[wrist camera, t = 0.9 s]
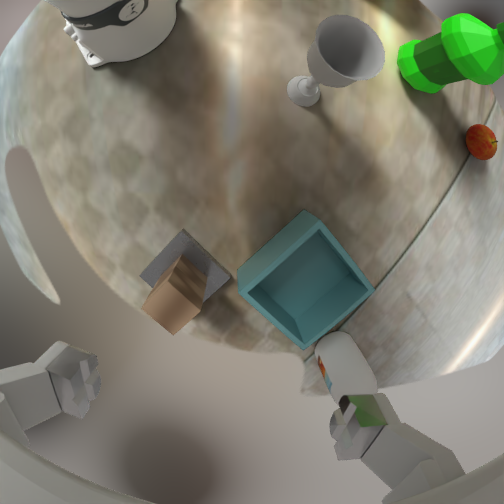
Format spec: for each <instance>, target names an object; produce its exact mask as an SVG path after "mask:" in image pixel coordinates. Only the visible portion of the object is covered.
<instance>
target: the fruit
mask: <svg viewBox="0 0 504 504" xmlns="http://www.w3.org/2000/svg"><path fill="white" fill-rule="evenodd" d="M497 142H498V141H496V137H495V135H494V133H493V132H492V130H491V129H489V128H488V127H487V126H485V125H481V124H476V125H473V126H471V127H470V128H469V129H468V131H467V133H466V145H467V148H468V150H469V151H470V153H471V154H472V155H473V156H474V157H476V158H477V159H480V160H488V159H490V158H492V157H493V156H494V155H495V153H496V150H497Z"/></svg>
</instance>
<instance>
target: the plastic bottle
mask: <svg viewBox="0 0 504 504" xmlns="http://www.w3.org/2000/svg"><path fill="white" fill-rule="evenodd" d="M397 64H398V67H399V69H400V72H401V74H402V76H403V78H404V79H405V80H406V81H407V82H408V83H409V84H410V85H411V86H412V87H413V88H414V89H417V90H420V91H424V92H427V93H430V94H433V93H436V92H438V91H439V90H441V89H442V88H443V87H445V86H446V84H449V83H453V82H457V81H462V80H466V79H470V80H472V81H474V82H476V83H478V84H482V85H489V84H493V83H494V82H495V81H496V80H498V79H499V78H500V77H501V76H502V75H503V74H504V22H503V23H499V24H497V29H494V30H493V29H492V28H490V27H489V26H487V25H486V24H484V23H483V22H482V21H480V20H478V19H477V18H475V17H473V16H471V15H470V14H464V13H460V14H457V15H455V16H452V17H450V18H448V19H446V20H445V21H444V22H443V23H442V31H441V32H440V33H438V34H436V35H434V36H432V37H430V38H428V39H426V40H424V41H420V40H412V41H410V42H408V43H406V44H404V45H402V46H400V48H399V52H398V59H397Z"/></svg>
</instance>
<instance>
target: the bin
mask: <svg viewBox="0 0 504 504" xmlns="http://www.w3.org/2000/svg"><path fill="white" fill-rule="evenodd" d="M237 278H238V293H239V294H240V295H241V296H242V297H243V298H244V299H245V300H247V301H248V302H249V303H250V304H251V305H252V306H253V307H254V308H255V309H256V310H258V311H259V312H260V313H261V314H262V315H263V316H264V317H265V318H267V319H268V320H269V321H270V322H271V323H272V324H273V325H274V326H276V327H277V328H278V329H279V330H280V331H281V332H282V333H284V334H285V335H286V336H287V337H288V338H289V339H291V340H292V341H293V342H294V343H295V344H296V345H297V346H299V347H300V348H301V349H302V350H303V351H304V350H305V349H306V348H307V347H309V346H310V345H311V344H313V343H314V342H315V341H316V340H318V339H319V338H320V337H321V336H323V335H324V334H325V333H326V332H328V331H329V330H330V329H331V328H333V327H334V326H335V325H336V324H337V323H339V322H340V321H341V320H342V319H343V318H345V317H346V316H347V315H348V314H349V313H350V312H352V311H353V310H354V309H355V308H356V307H357V306H358V305H360V304H361V303H362V302H363V301H364V300H365V299H366V298H367V297H368V296H370V295H371V294H372V293H373V292H374V291H375V289H374V287H373V286H372V285H371V283H370V282H369V281H368V279H367V278H366V277H365V275H364V274H363V273H362V271H361V270H360V269H359V268H358V266H357V265H356V264H355V262H354V261H353V260H352V258H351V257H350V256H349V255H348V253H347V252H346V251H345V250H344V248H343V247H342V246H341V245H340V243H339V242H338V241H337V240H336V238H335V237H334V236H333V235H332V233H331V232H330V231H329V230H328V229H327V227H326V226H325V225H324V224H323V223H322V221H321V220H320V219H318V218H317V217H315V216H314V215H312V214H311V213H309V212H308V211H306V210H305V209H303V210H302V211H301V212H300V213H299V214H298V215H297V216H296V217H295V218H294V219H293V220H291V221H290V222H289V223H288V224H287V225H286V226H285V227H284V228H283V229H282V230H280V231H279V232H278V233H277V234H276V235H275V236H274V237H273V238H272V239H271V240H269V241H268V242H267V243H266V244H265V245H264V246H263V247H262V248H261V249H260V250H258V251H257V252H256V253H255V254H254V255H253V256H252V257H251V258H250V259H249V260H247V261H246V262H245V263H244V264H243V265H242V266H241V267H240V268H239V269H238V270H237Z"/></svg>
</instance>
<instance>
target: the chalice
mask: <svg viewBox="0 0 504 504" xmlns="http://www.w3.org/2000/svg"><path fill="white" fill-rule="evenodd" d="M307 62H308V68H309V71H310V73H311V76H310V77H307V76H297V77H294V78H292V79H291V80H290V81H289V83H288V85H287V93H288V96H289V97H290V99H291V100H292V101H293V102H294V103H295V104H297V105H299V106H304V107H306V106H311V105H313V104H315V103H316V102H317V101H318V99H319V97H320V88H319V84H320V83H321V84H323V85H325V86H330V87H335V88H339V87H346V86H348V85H350V84H352V83H354V82H356V81H357V80H368V79H370V78H373V77H375V76H376V75H377V74H378V73H379V72H380V71H381V70H382V68H383V65H384V62H385V51H384V48H383V45H382V42H381V40H380V39H379V37H378V35H377V34H376V32H375V31H374V30H373V29H372V28H371V27H370V26H369V25H367V24H366V23H364V22H363V21H361V20H359V19H358V18H354V17H351V16H348V15H334V16H330V17H327V18H326V19H325V20H323V21H322V22H321V23H320V24H319V26H318V28H317V30H316V38H315V40H314V42H313V43H312V45H311V46H310V48H309V50H308V54H307Z"/></svg>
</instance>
